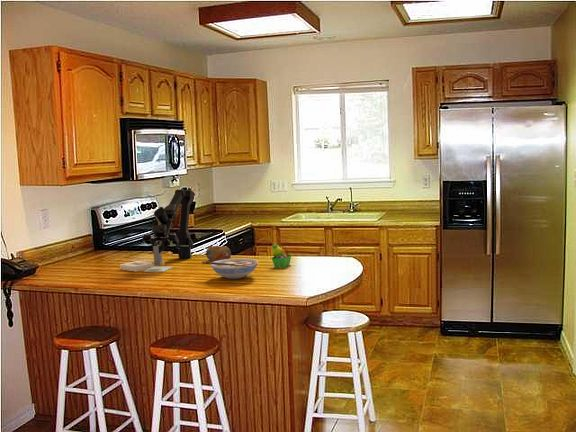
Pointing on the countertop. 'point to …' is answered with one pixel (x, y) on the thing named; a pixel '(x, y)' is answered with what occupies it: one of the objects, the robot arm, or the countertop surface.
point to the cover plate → (136, 266)
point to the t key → (157, 256)
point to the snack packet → (218, 253)
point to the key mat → (158, 269)
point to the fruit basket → (280, 257)
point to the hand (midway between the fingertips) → (156, 252)
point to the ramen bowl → (233, 267)
